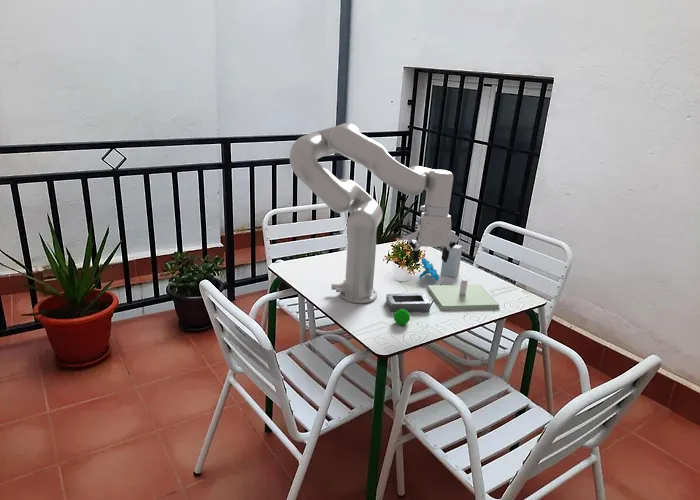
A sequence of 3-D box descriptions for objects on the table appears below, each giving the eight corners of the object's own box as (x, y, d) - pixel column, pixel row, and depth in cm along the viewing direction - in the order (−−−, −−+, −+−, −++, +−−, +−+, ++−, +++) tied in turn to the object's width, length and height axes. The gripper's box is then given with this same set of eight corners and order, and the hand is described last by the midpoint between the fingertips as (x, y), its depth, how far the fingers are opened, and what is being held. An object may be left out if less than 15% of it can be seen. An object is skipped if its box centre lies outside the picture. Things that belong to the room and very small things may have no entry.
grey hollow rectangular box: (391, 312, 159) (391, 304, 158) (385, 302, 166) (386, 294, 165) (429, 311, 161) (430, 303, 160) (422, 301, 168) (423, 293, 167)
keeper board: (442, 310, 162) (444, 290, 160) (427, 289, 177) (429, 271, 175) (498, 308, 166) (501, 289, 163) (479, 288, 181) (482, 270, 178)
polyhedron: (408, 320, 155) (409, 306, 153) (410, 327, 150) (411, 314, 149) (392, 319, 155) (393, 306, 153) (394, 327, 150) (395, 313, 148)
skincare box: (458, 274, 192) (462, 245, 187) (454, 278, 188) (458, 248, 184) (444, 270, 195) (448, 242, 190) (440, 274, 191) (443, 245, 187)
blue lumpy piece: (439, 281, 180) (422, 259, 180) (426, 290, 182) (409, 269, 182) (442, 274, 191) (426, 253, 191) (430, 282, 193) (414, 262, 193)
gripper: (413, 213, 148) (407, 265, 154) (467, 214, 151) (459, 265, 157) (406, 206, 155) (400, 256, 161) (458, 207, 158) (451, 256, 164)
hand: (429, 261), depth 159 cm, fingers open, 9 cm apart
